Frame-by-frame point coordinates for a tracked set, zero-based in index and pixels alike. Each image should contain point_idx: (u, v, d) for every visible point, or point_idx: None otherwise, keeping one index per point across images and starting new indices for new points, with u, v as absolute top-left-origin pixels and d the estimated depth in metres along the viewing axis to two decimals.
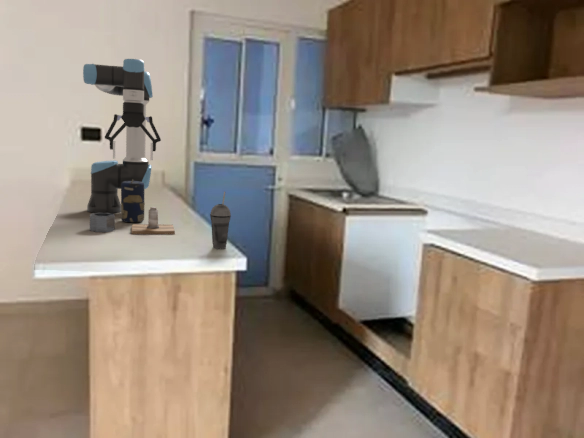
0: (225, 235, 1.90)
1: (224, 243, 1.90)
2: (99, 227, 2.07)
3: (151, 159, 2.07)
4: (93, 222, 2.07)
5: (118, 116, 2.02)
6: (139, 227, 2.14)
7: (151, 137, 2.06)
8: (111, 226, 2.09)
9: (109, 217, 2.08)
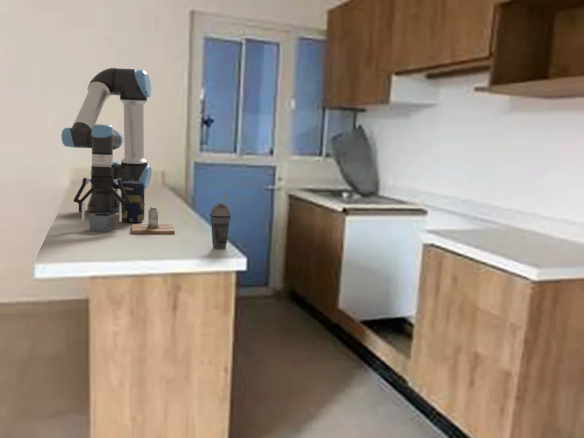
0: (225, 235, 1.90)
1: (224, 243, 1.90)
2: (99, 227, 2.07)
3: (120, 220, 2.11)
4: (93, 222, 2.07)
5: (87, 179, 2.06)
6: (139, 227, 2.14)
7: (120, 199, 2.10)
8: (111, 226, 2.09)
9: (109, 217, 2.08)
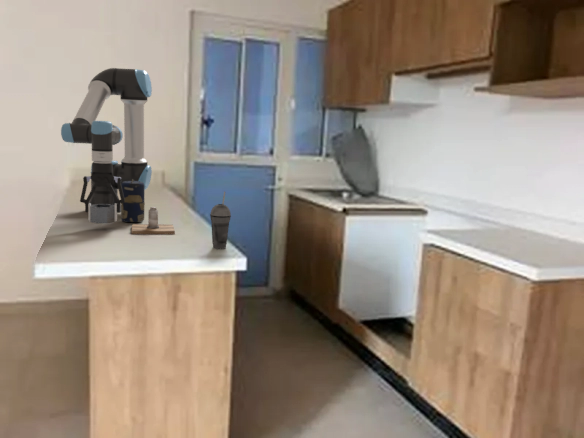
0: (225, 235, 1.90)
1: (224, 243, 1.90)
2: (100, 218, 2.07)
3: (115, 220, 2.11)
4: (93, 213, 2.07)
5: (87, 178, 2.06)
6: (139, 227, 2.14)
7: (116, 198, 2.10)
8: (112, 217, 2.09)
9: (109, 208, 2.08)
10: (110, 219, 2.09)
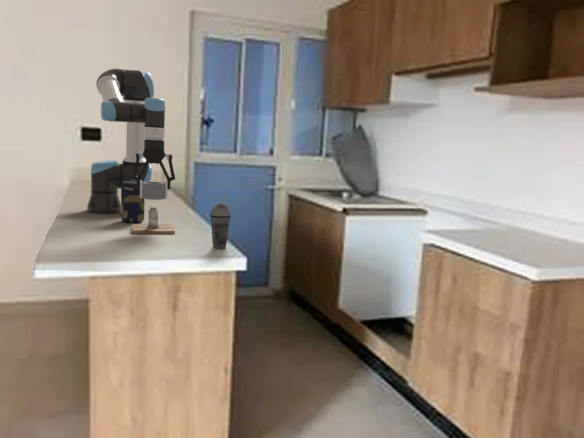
0: (225, 235, 1.90)
1: (224, 243, 1.90)
2: (151, 194, 2.08)
3: (166, 197, 2.13)
4: (145, 190, 2.09)
5: (139, 154, 2.09)
6: (139, 227, 2.14)
7: (167, 175, 2.12)
8: (163, 194, 2.11)
9: (161, 185, 2.10)
10: (161, 195, 2.11)
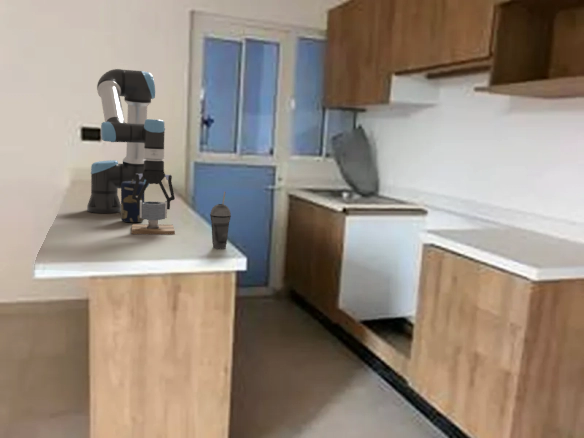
0: (225, 235, 1.90)
1: (224, 243, 1.90)
2: (151, 215, 2.10)
3: (165, 217, 2.14)
4: (145, 210, 2.10)
5: (139, 175, 2.10)
6: (139, 227, 2.14)
7: (166, 195, 2.13)
8: (162, 214, 2.12)
9: (161, 205, 2.11)
10: (161, 216, 2.12)
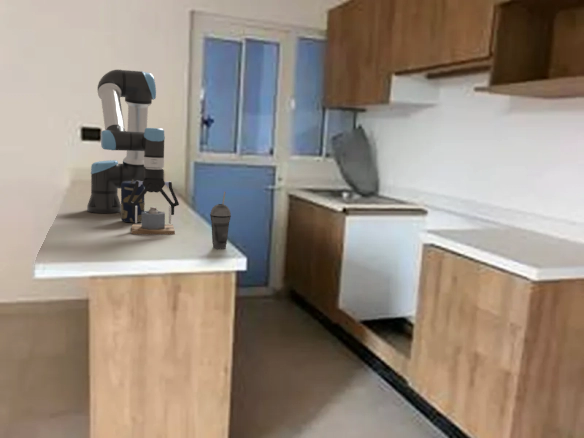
0: (225, 235, 1.90)
1: (224, 243, 1.90)
2: (151, 225, 2.11)
3: (169, 222, 2.15)
4: (145, 220, 2.11)
5: (139, 182, 2.10)
6: (139, 227, 2.14)
7: (170, 202, 2.14)
8: (162, 224, 2.13)
9: (160, 215, 2.12)
10: (161, 225, 2.13)
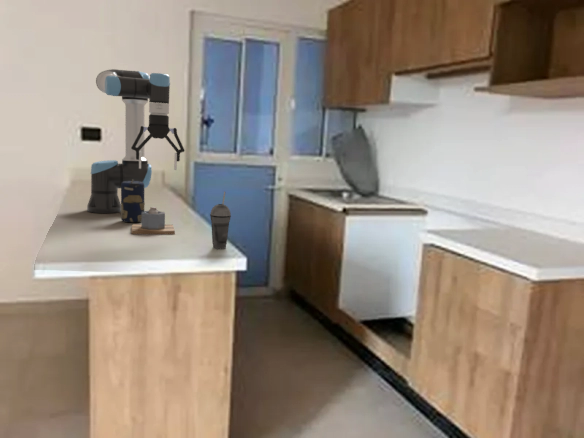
0: (225, 235, 1.90)
1: (224, 243, 1.90)
2: (151, 225, 2.11)
3: (175, 169, 2.16)
4: (145, 220, 2.11)
5: (144, 128, 2.11)
6: (139, 227, 2.14)
7: (175, 148, 2.15)
8: (162, 224, 2.13)
9: (160, 215, 2.12)
10: (161, 225, 2.13)
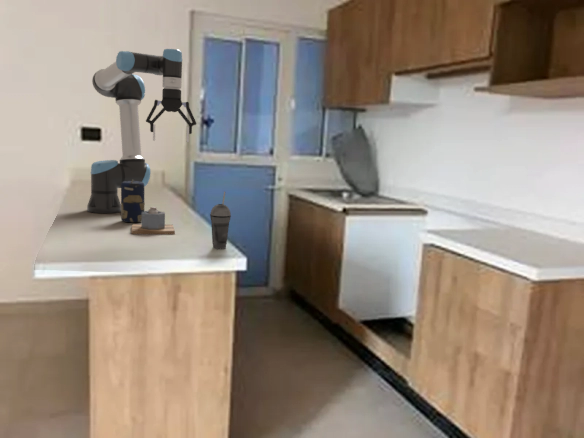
0: (225, 235, 1.90)
1: (224, 243, 1.90)
2: (151, 225, 2.11)
3: (187, 141, 2.26)
4: (145, 220, 2.11)
5: (158, 101, 2.21)
6: (139, 227, 2.14)
7: (188, 121, 2.25)
8: (162, 224, 2.13)
9: (160, 215, 2.12)
10: (161, 225, 2.13)
